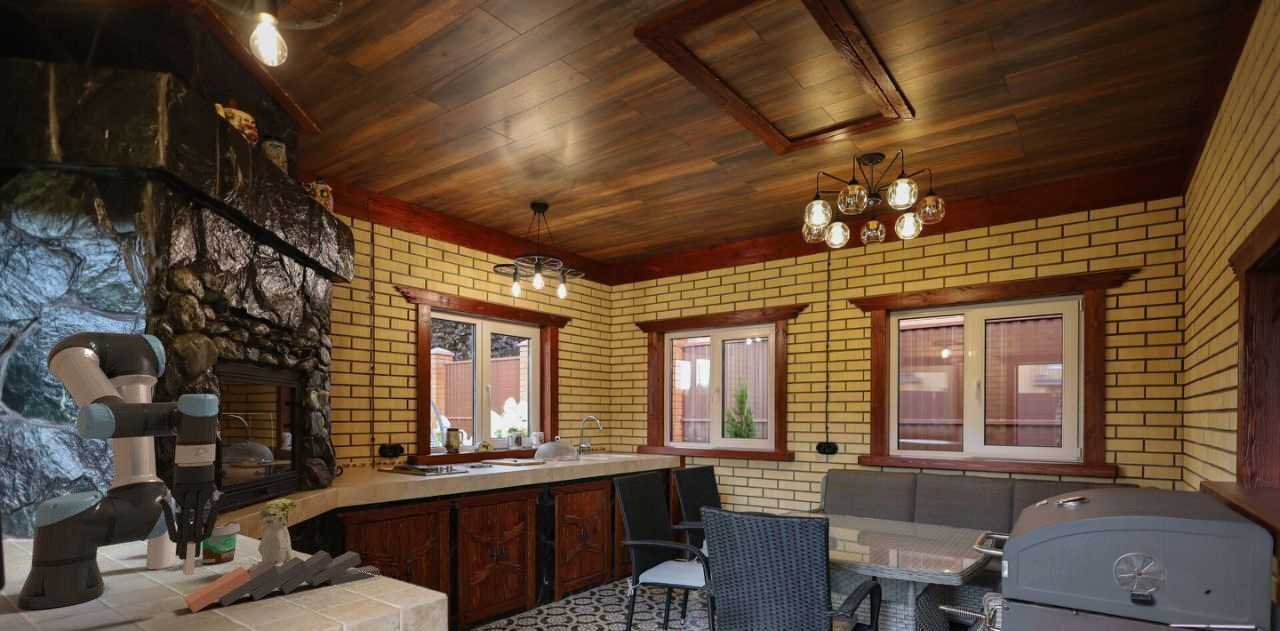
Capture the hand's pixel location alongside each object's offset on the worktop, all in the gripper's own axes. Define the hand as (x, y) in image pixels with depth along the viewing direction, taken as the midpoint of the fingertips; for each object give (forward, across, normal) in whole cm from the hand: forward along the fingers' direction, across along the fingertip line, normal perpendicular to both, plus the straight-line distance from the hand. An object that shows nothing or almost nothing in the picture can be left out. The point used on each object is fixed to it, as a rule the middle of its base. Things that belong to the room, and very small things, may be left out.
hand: (188, 573), depth 151 cm
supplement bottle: (+8, +12, +63) cm, 65 cm away
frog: (+8, +26, +24) cm, 36 cm away
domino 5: (+6, +25, 0) cm, 26 cm away
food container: (+8, +18, +43) cm, 47 cm away
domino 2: (+7, +6, 0) cm, 9 cm away
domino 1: (+7, 0, 0) cm, 7 cm away
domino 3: (+7, +12, 0) cm, 14 cm away
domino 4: (+7, +19, 0) cm, 20 cm away
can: (+8, +4, +48) cm, 49 cm away
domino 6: (+8, +30, 0) cm, 31 cm away
